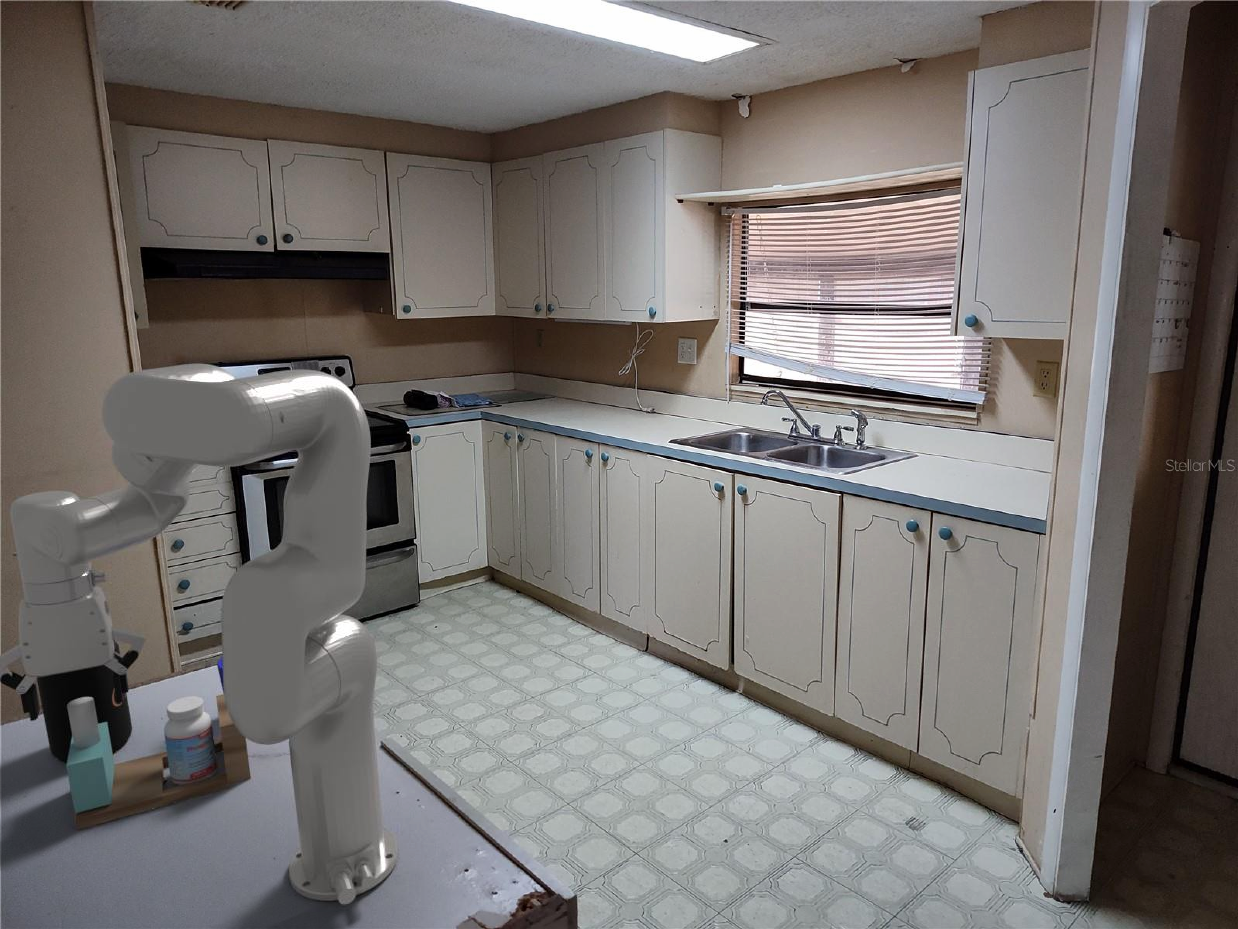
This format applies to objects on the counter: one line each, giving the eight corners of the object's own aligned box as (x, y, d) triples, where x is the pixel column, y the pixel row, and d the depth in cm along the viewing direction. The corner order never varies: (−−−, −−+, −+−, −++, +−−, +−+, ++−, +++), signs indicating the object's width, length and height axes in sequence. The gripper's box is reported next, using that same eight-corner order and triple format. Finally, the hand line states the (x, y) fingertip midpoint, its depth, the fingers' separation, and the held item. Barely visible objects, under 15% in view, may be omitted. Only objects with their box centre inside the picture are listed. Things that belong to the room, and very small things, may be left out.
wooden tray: (251, 782, 117) (244, 724, 115) (76, 829, 107) (65, 768, 105) (244, 741, 127) (237, 688, 125) (84, 781, 118) (74, 724, 115)
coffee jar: (136, 751, 125) (118, 641, 121) (52, 775, 119) (30, 661, 115) (130, 721, 134) (113, 617, 129) (51, 742, 128) (31, 634, 124)
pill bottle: (199, 789, 115) (188, 717, 113) (161, 785, 117) (150, 713, 114) (227, 765, 121) (218, 695, 119) (191, 760, 122) (181, 691, 120)
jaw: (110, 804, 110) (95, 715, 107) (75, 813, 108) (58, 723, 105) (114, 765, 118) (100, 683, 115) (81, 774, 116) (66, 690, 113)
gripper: (137, 567, 113) (152, 680, 117) (-19, 589, 105) (4, 709, 109) (135, 585, 107) (152, 704, 111) (-30, 610, 99) (-6, 737, 103)
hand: (78, 706), depth 110 cm, fingers open, 9 cm apart
